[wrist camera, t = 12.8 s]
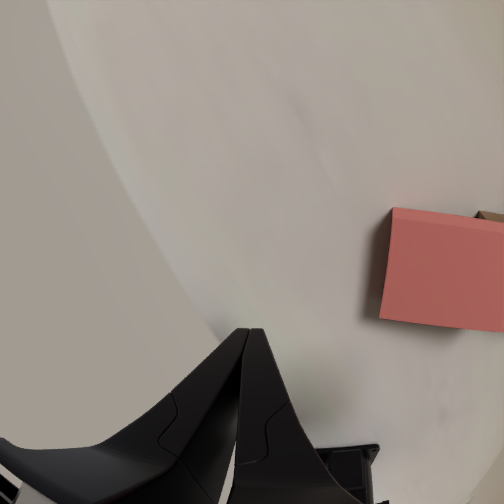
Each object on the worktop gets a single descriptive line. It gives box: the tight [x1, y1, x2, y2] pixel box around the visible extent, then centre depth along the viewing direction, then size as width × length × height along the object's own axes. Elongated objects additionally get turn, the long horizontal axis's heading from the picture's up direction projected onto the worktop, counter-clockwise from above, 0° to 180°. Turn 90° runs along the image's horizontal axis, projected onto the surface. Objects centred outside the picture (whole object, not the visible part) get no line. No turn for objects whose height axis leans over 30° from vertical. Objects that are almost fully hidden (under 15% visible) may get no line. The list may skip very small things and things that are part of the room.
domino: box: [379, 207, 504, 332], centre depth 11 cm, size 2×5×8 cm
